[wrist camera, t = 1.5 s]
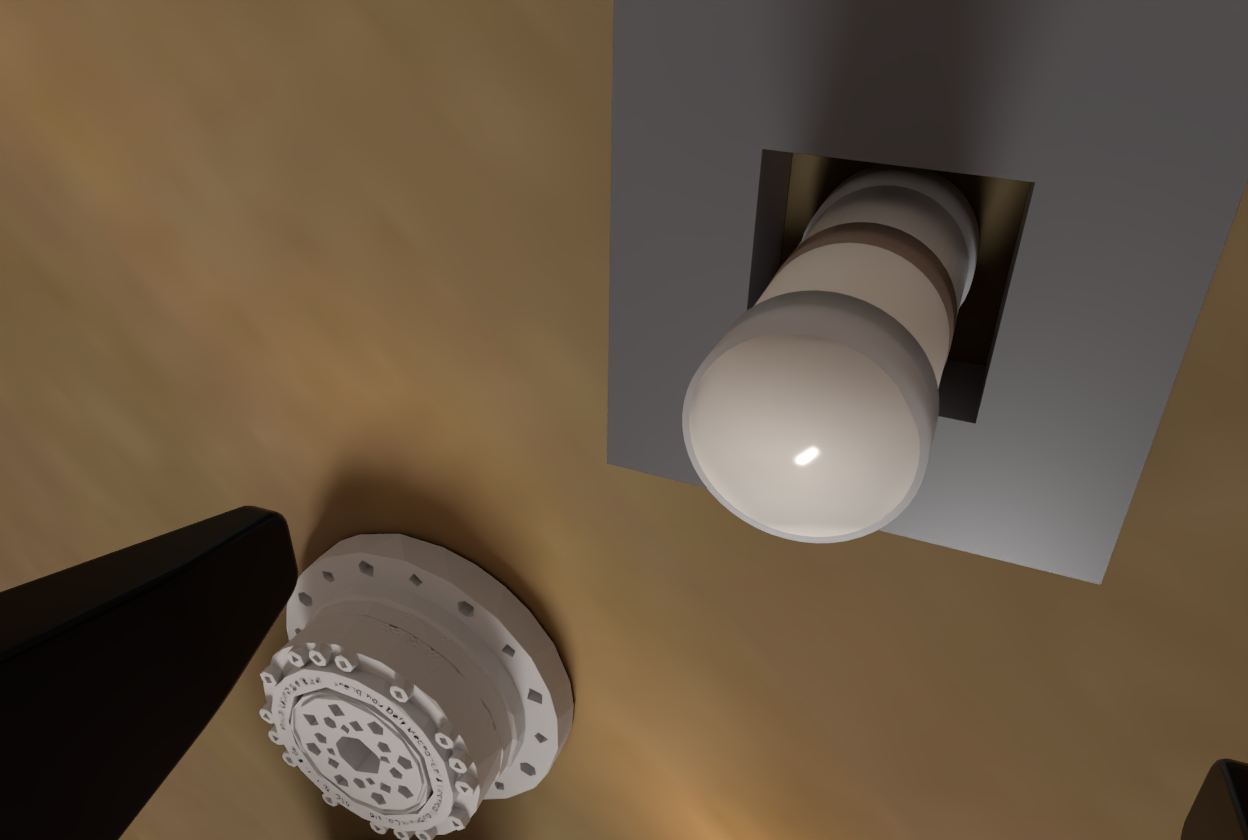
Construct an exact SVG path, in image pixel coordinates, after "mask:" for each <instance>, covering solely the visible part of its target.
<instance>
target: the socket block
mask: <svg viewBox="0 0 1248 840" xmlns="http://www.w3.org/2000/svg"><path fill="white" fill-rule="evenodd" d="M792 153H800V154H808V155H816V156H824V157H832V158H840V159H848V160H857V161H865V162H873V163H881V164H889V165H897V166H905V167H914V168H922V169H930V170H938V171H946V172H954V173H962V174H971V175H979V176H987V177H995V178H1003V179H1011V180H1019V181H1027V182H1031V183H1030V187H1029V191H1028V195H1027V199H1026V203H1025V207H1024V211H1023V215H1022V220H1021V224H1020V228H1019V232H1018V236H1017V240H1016V244H1015V248H1014V252H1013V256H1012V260H1011V264H1010V269H1009V273H1008V277H1007V281H1006V285H1005V289H1004V293H1003V297H1002V301H1001V305H1000V309H999V313H998V318H997V322H996V326H995V330H994V334H993V338H992V342H991V346H990V350H989V354H988V358H987V362H986V366H984V365H979V364H973V363H968V362H963V361H957V360H952V359H947V361H946V364H945V366H944V368H943V372H942V376H941V380H940V384H939V388H938V391H939V415H938V422H937V427H936V431H935V435H934V439H933V443H932V447H931V451H930V455H929V459H928V463H927V468H926V471H925V474H924V477H923V481H922V483H921V485H920V487H919V489H918V491H917V493H916V495H915V497H914V498H913V499H912V501H911V502H910V504H909V505H908V506H907V507H906V508H905V509H904V510H903V511H902V512H901V513H900V515H899V516H898V517H896V518H895V519H894V520H892V521H891V522H890V523H888V524H887V525H885V526H884V527H882V528H880V529H878V530H880V531H884V532H888V533H892V534H896V535H900V536H904V537H908V538H913V539H917V540H921V541H925V542H929V543H933V544H937V545H941V546H945V547H949V548H953V549H957V550H961V551H965V552H970V553H974V554H978V555H982V556H986V557H990V558H994V559H998V560H1002V561H1006V562H1010V563H1014V564H1018V565H1022V566H1026V567H1031V568H1035V569H1039V570H1043V571H1047V572H1051V573H1055V574H1059V575H1063V576H1067V577H1071V578H1075V579H1079V580H1083V581H1087V582H1092V583H1096V584H1100V585H1101V582H1102V580H1103V577H1104V574H1105V571H1106V569H1107V566H1108V563H1109V560H1110V558H1111V555H1112V552H1113V549H1114V547H1115V544H1116V541H1117V538H1118V536H1119V533H1120V530H1121V527H1122V525H1123V522H1124V519H1125V516H1126V514H1127V511H1128V508H1129V505H1130V503H1131V500H1132V497H1133V494H1134V492H1135V489H1136V486H1137V483H1138V481H1139V478H1140V475H1141V472H1142V470H1143V467H1144V464H1145V461H1146V459H1147V456H1148V453H1149V450H1150V448H1151V445H1152V442H1153V439H1154V437H1155V434H1156V431H1157V428H1158V426H1159V423H1160V420H1161V417H1162V415H1163V412H1164V409H1165V406H1166V404H1167V401H1168V398H1169V395H1170V393H1171V390H1172V387H1173V384H1174V382H1175V379H1176V376H1177V373H1178V371H1179V368H1180V365H1181V362H1182V360H1183V357H1184V354H1185V351H1186V349H1187V346H1188V343H1189V340H1190V338H1191V335H1192V332H1193V329H1194V327H1195V324H1196V321H1197V318H1198V316H1199V313H1200V310H1201V307H1202V305H1203V302H1204V299H1205V296H1206V294H1207V291H1208V288H1209V285H1210V283H1211V280H1212V277H1213V274H1214V272H1215V269H1216V266H1217V263H1218V261H1219V258H1220V255H1221V252H1222V250H1223V247H1224V244H1225V241H1226V239H1227V236H1228V233H1229V230H1230V228H1231V225H1232V222H1233V219H1234V217H1235V214H1236V211H1237V208H1238V206H1239V203H1240V200H1241V198H1242V195H1243V192H1244V189H1245V187H1246V184H1247V181H1248V0H614V19H613V88H612V158H611V228H610V297H609V367H608V436H607V464H612V465H616V466H620V467H624V468H628V469H632V470H636V471H640V472H644V473H648V474H652V475H656V476H660V477H664V478H668V479H673V480H677V481H681V482H685V483H689V484H693V485H697V486H701V487H705V488H707V487H706V486H705V484H704V483H703V482H702V480H701V479H700V477H699V475H698V474H697V472H696V470H695V469H694V467H693V464H692V462H691V460H690V457H689V455H688V452H687V448H686V445H685V442H684V435H683V429H682V412H683V405H684V399H685V396H686V392H687V389H688V387H689V384H690V382H691V380H692V378H693V376H694V374H695V373H696V371H697V370H698V368H699V367H700V365H701V364H702V363H703V361H704V360H705V359H706V357H707V356H708V355H709V353H710V352H711V351H712V349H713V348H714V347H715V345H716V344H717V343H718V341H719V340H720V339H721V337H722V336H723V335H724V333H725V332H726V331H727V330H728V328H729V327H730V326H731V325H732V324H733V323H734V322H735V321H736V319H737V318H739V317H740V316H741V315H742V314H744V313H745V312H746V311H747V310H749V309H750V308H752V307H753V306H754V305H755V304H756V302H757V301H758V300H759V298H760V297H761V295H762V294H763V293H764V291H765V290H766V288H767V286H768V285H769V283H770V282H771V280H772V279H773V277H774V276H775V274H776V273H777V272H778V270H779V269H780V260H781V251H782V242H783V233H784V224H785V216H786V207H787V198H788V189H789V180H790V171H791V162H792Z"/></svg>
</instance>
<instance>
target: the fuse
mask: <svg viewBox="0 0 1248 840" xmlns="http://www.w3.org/2000/svg"><path fill="white" fill-rule="evenodd" d="M979 247H980V235H979V228H978V223H977V220H976V217H975V214H974V212H973V210H972V207H971V205H970V204H969V202H968V201H967V199H966V197H965V196H964V195H963V194H962V192H961V191H960V190H959V189H958V188H957V187H956V186H955V185H954V184H953V183H951V182H950V181H949V180H948V179H946V178H945V177H943V176H942V175H940V174H938V173H936V172H934V171H932V170H930V169H922V168H914V167H905V166H897V165H889V164H882V165H877V166H873V167H870V168H867V169H864V170H862V171H859V172H857V173H855V174H853V175H852V176H850V177H849V178H847V179H846V180H844V181H843V182H842V183H841V184H840V185H838V186H837V187H836V188H835V189H834V190H833V191H832V193H831V194H830V195H829V196H828V197H827V199H826V200H825V201H824V203H823V204H822V205H821V207H820V208H819V209H818V211H817V212H816V213H815V215H814V216H813V218H812V219H811V221H810V222H809V224H808V226H807V228H806V230H805V232H804V235H803V238H802V241H801V243H800V244H799V245H798V247H797V248H796V249H795V250H794V251H793V252H792V253H791V254H790V255H789V257H788V258H787V260H786V261H785V262H784V264H783V265H782V266H781V268H780V269H779V270H778V272H777V273H776V274H775V276H774V277H773V279H772V280H771V282H770V283H769V285H768V286H767V288H766V290H765V291H764V293H763V294H762V295H761V297H760V298H759V300H758V301H757V302H756V304H755V305H754V306H753V307H752V308H750V309H749V310H747V311H746V312H745V313H744V314H742V315H741V316H740V317H739V318H737V319H736V321H735V322H734V323H733V324H732V325H731V326H730V327H729V328H728V330H727V331H726V332H725V333H724V335H723V336H722V337H721V339H720V340H719V341H718V343H717V344H716V345H715V347H714V348H713V349H712V351H711V352H710V353H709V355H708V356H707V357H706V359H705V360H704V361H703V363H702V364H701V365H700V367H699V368H698V370H697V371H696V373H695V374H694V376H693V378H692V380H691V382H690V384H689V387H688V389H687V392H686V396H685V399H684V405H683V412H682V429H683V435H684V442H685V445H686V448H687V452H688V455H689V457H690V460H691V462H692V464H693V467H694V469H695V470H696V472H697V474H698V475H699V477H700V479H701V480H702V482H703V483H704V484H705V486H706V487H707V488H708V490H709V491H710V492H711V493H712V494H713V495H714V497H715V498H716V499H717V500H718V501H719V502H720V503H721V504H722V505H724V506H725V507H726V508H727V509H728V510H729V511H731V512H732V513H733V514H735V515H736V516H738V517H739V518H740V519H742V520H743V521H745V522H747V523H749V524H750V525H752V526H754V527H756V528H758V529H760V530H763V531H765V532H767V533H770V534H772V535H775V536H779V537H782V538H785V539H790V540H795V541H800V542H809V543H834V542H842V541H848V540H852V539H856V538H860V537H862V536H865V535H867V534H870V533H872V532H875V531H876V530H878V529H880V528H882V527H884V526H885V525H887V524H888V523H890V522H891V521H892V520H894V519H895V518H896V517H898V516H899V515H900V513H901V512H902V511H903V510H904V509H905V508H906V507H907V506H908V505H909V504H910V502H911V501H912V499H913V498H914V497H915V495H916V493H917V491H918V489H919V487H920V485H921V483H922V481H923V477H924V474H925V471H926V468H927V463H928V459H929V455H930V451H931V447H932V443H933V439H934V435H935V431H936V427H937V422H938V415H939V391H938V388H939V384H940V380H941V376H942V372H943V368H944V366H945V364H946V361H947V358H948V354H949V351H950V347H951V343H952V339H953V335H954V331H955V327H956V321H957V315H958V311H959V308H960V306H961V305H962V303H963V302H964V300H965V298H966V296H967V294H968V292H969V290H970V286H971V283H972V280H973V276H974V272H975V268H976V263H977V259H978V254H979Z"/></svg>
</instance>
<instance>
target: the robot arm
mask: <svg viewBox="0 0 1248 840" xmlns="http://www.w3.org/2000/svg"><path fill="white" fill-rule="evenodd" d="M297 580H298V567H297V563H296V558H295V554H294V550H293V545H292V541H291V537H290V532H289V528H288V524H287V521H286V519H285V518H284V517H283V516H282V514H280V513H278V512H275V511H272V510H268V509H264V508H260V507H256V506H243V507H239V508H237V509H234V510H231V511H228V512H225V513H223V514H220V515H217V516H214V517H211V518H208V519H206V520H203V521H200V522H197V523H194V524H191V525H189V526H186V527H183V528H180V529H177V530H175V531H172V532H169V533H166V534H163V535H160V536H158V537H155V538H152V539H149V540H146V541H144V542H141V543H138V544H135V545H132V546H129V547H127V548H124V549H121V550H118V551H115V552H112V553H110V554H107V555H104V556H101V557H98V558H96V559H93V560H90V561H87V562H84V563H81V564H79V565H76V566H73V567H70V568H67V569H64V570H62V571H59V572H56V573H53V574H50V575H48V576H45V577H42V578H39V579H36V580H33V581H31V582H28V583H25V584H22V585H19V586H16V587H14V588H11V589H8V590H5V591H2V592H0V840H118V839H119V838H120V837H121V836H122V834H123V833H124V832H125V830H126V829H127V828H128V827H129V825H130V824H131V823H132V821H133V820H134V819H135V817H136V816H137V815H138V814H139V812H140V811H141V810H142V808H143V807H144V806H145V805H146V803H147V802H148V801H149V799H150V798H151V797H152V796H153V794H154V793H155V792H156V790H157V789H158V788H159V787H160V785H161V784H162V783H163V781H164V780H165V779H166V778H167V776H168V775H169V774H170V772H171V771H172V770H173V769H174V767H175V766H176V765H177V763H178V762H179V761H180V759H181V758H182V757H183V756H184V754H185V753H186V752H187V750H188V749H189V748H190V747H191V745H192V744H193V743H194V741H195V740H196V739H197V738H198V736H199V735H200V734H201V732H202V731H203V730H204V729H205V727H206V726H207V725H208V723H209V722H210V721H211V719H212V718H213V716H214V715H215V714H216V712H217V711H218V710H219V708H220V707H221V705H222V704H223V702H224V701H225V699H226V698H227V696H228V695H229V693H230V692H231V690H232V689H233V687H234V686H235V684H236V683H237V681H238V679H239V678H240V676H241V675H242V673H243V672H244V670H245V668H246V667H247V665H248V664H249V662H250V661H251V659H252V657H253V656H254V654H255V653H256V651H257V649H258V648H259V646H260V645H261V643H262V642H263V640H264V638H265V637H266V635H267V634H268V632H269V631H270V629H271V627H272V626H273V624H274V623H275V621H276V620H277V618H278V616H279V615H280V613H281V612H282V610H283V608H284V607H285V605H286V604H287V602H288V601H289V599H290V597H291V596H292V594H293V592H294V590H295V587H296V585H297ZM1181 840H1248V764H1247V763H1243V762H1239V761H1236V760H1232V759H1220V760H1217V761H1216V762H1215V763H1214V764H1213V765H1212V767H1211V768H1210V770H1209V772H1208V774H1207V776H1206V778H1205V780H1204V782H1203V784H1202V787H1201V789H1200V791H1199V793H1198V795H1197V797H1196V799H1195V801H1194V803H1193V805H1192V807H1191V809H1190V811H1189V813H1188V816H1187V818H1186V820H1185V822H1184V826H1183V829H1182V834H1181Z"/></svg>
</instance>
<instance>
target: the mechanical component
mask: <svg viewBox="0 0 1248 840" xmlns="http://www.w3.org/2000/svg"><path fill="white" fill-rule="evenodd" d="M286 629H287V633H288V638H289V642H288V643H287V644H286V645H285V646H284V647H282V648H281V649H280V650H279V651H278V652H277V653H276V654H274V655H273V657H272V660H271V663H270V665H269V666H267V667H266V668H265V669H264V670H263V672H262V673H261V674H260V676H261V678H262V680H263V681H264V682H263V685H264V691H265V697H266V703H267V704H265V705H264V706H263V707H262V709H261V710H260V712H259V713H260V715H261V717H262V718H263V719H264V720H265V721H267V722H269V723H270V724H272V723H273V724H274V726H273V727H272V728H271V730H270V731H269V734H268V736H269V737H270V739H271V740H272V741H273V742H274V743H276V744H277V745H283V744H284V745H285V747H286V751H285V752H284V753H283V756H282V758H283V759H284V760H285V761H286V763H287V764H288V765H291V766H293V767H295V766H297V765H298V767H299V768H300V770H301V771H302V772H303V773H304V774H305V775H306V776H307V777H308V778H309V779H310V780H311V781H312V782H313V783H314V784H315V785H316V786H317V787H318V788H319V789H320V790H321V791H323V792H324V793H323V795H322V797H323V799H324V801H325V802H326V803H327V804H329V805H331V806H333V807H334V806H337V805H338V803H340V804H341V805H343V806H344V807H346V808H347V809H349V810H350V811H352V812H353V813H355V814H357V815H358V816H360V817H361V818H363V819H366V820H368V821H371V822H370V826H371V828H372V829H373V830H374V831H375V832H377V833H379V834H385V833H386V832H387V830H388V829H389V828H392V829H394V834H395V835H396V837H397V838H399V839H401V840H409V839H410V838H411V837H412V836H413V834H416V836H417V837H418V838H419V839H420V840H433V838H434V837H435V836H436V835H445V834H447V833H450V832H452V831H454V830H458V831H459V830H461V829H464V828H465V827H466V826H467V824H468V823H469V821H470V818H471V817H472V816H473V814H474V813H475V812H476V811H477V809H478V807H479V805H480V804H481V802H482V800H483V799H505V798H510V797H512V796H515V795H517V794H520V793H523V792H525V791H528V790H530V789H533V788H535V787H536V786H537V785H538V784H539V782H540V781H541V780H542V779H543V778H544V777H545V776H546V775H547V773H548V772H549V770H550V769H551V767H552V765H553V764H554V762H555V760H556V759H557V757H558V755H559V753H560V752H561V750H562V748H563V747H564V745H565V742H566V740H567V737H568V735H569V732H570V730H571V727H572V721H573V709H574V704H573V698H572V691H571V685H570V680H569V678H568V676H567V673H566V671H565V669H564V666H563V664H562V662H561V659H560V657H559V655H558V652H557V650H556V648H555V645H554V643H553V642H552V641H551V639H550V638H549V637H548V635H547V634H546V633H545V631H544V630H543V629H542V627H541V626H540V624H539V623H538V622H537V620H536V619H535V618H534V616H533V615H532V614H531V612H530V611H529V610H528V609H527V608H526V607H525V606H524V605H523V604H522V603H521V602H520V601H519V600H518V599H517V598H516V597H515V596H514V595H513V594H512V593H511V592H510V591H509V590H508V589H507V588H506V587H505V586H504V585H502V584H501V583H500V582H498V581H497V580H496V579H494V578H493V577H492V576H490V575H489V574H488V573H486V572H485V571H484V570H482V569H481V568H480V567H478V566H477V565H475V564H474V563H472V562H470V561H468V560H466V559H464V558H462V557H460V556H459V555H457V554H455V553H453V552H451V551H449V550H447V549H445V548H444V547H441V546H437V545H434V544H431V543H428V542H425V541H421V540H418V539H415V538H412V537H408V536H405V535H402V534H360V535H357V536H354V537H351V538H347V539H344V540H341V541H339V542H338V543H337V544H336V545H334V546H333V547H332V548H330V549H329V550H328V551H327V552H325V553H324V554H323V555H321V556H320V557H319V558H318V559H317V560H316V561H315V562H314V563H312V564H311V565H310V566H309V567H308V568H307V569H306V570H305V571H304V572H303V573H302V574H301V576H300V577H299V578H298V580H297V585H296V587H295V590H294V592H293V594H292V596H291V597H290V599H289V601H288V603H287V617H286Z"/></svg>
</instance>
